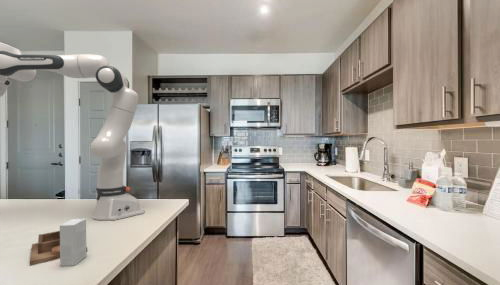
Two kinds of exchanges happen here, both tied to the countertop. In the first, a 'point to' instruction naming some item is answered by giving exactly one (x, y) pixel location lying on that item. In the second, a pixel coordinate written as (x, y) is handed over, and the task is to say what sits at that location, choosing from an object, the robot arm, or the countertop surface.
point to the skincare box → (72, 242)
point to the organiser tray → (46, 248)
